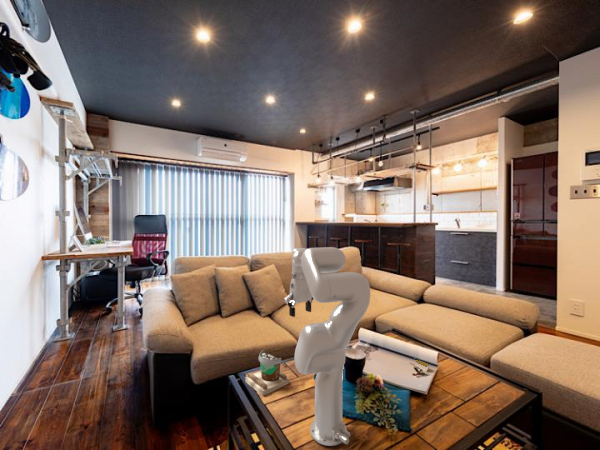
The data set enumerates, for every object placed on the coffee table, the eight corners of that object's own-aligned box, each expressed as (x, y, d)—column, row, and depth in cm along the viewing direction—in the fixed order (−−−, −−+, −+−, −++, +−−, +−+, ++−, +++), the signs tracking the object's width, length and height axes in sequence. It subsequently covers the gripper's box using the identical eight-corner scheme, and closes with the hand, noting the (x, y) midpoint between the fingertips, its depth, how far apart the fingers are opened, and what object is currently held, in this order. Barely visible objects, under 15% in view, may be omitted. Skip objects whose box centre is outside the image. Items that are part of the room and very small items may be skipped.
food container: (252, 375, 126) (252, 353, 125) (263, 370, 130) (263, 349, 130) (270, 386, 117) (270, 363, 117) (281, 380, 122) (281, 357, 121)
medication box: (403, 364, 140) (402, 356, 140) (406, 362, 141) (405, 354, 141) (426, 374, 130) (425, 366, 130) (429, 371, 132) (428, 363, 132)
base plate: (289, 383, 123) (289, 375, 123) (262, 396, 114) (262, 387, 114) (270, 370, 134) (270, 363, 134) (245, 381, 124) (245, 373, 124)
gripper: (291, 279, 116) (291, 320, 116) (320, 274, 127) (319, 311, 128) (280, 277, 121) (280, 315, 122) (308, 272, 133) (308, 307, 133)
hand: (300, 313), depth 125 cm, fingers open, 9 cm apart
